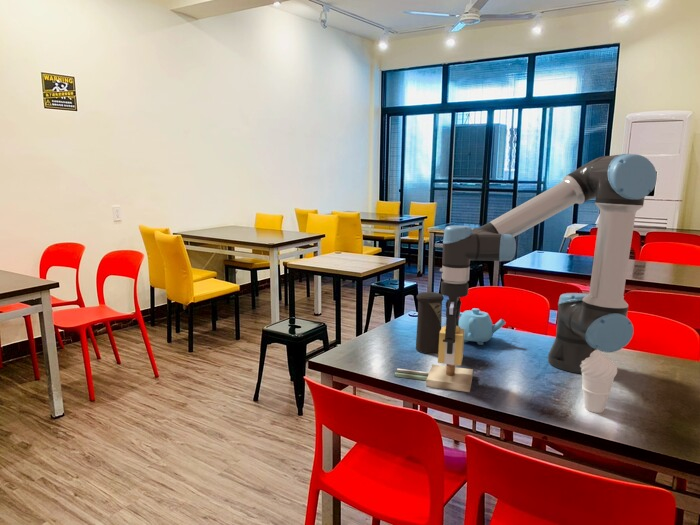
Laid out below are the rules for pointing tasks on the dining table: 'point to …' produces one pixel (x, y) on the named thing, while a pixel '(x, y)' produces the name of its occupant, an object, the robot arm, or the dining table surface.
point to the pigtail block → (441, 377)
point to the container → (429, 322)
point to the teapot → (478, 326)
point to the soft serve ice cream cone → (597, 380)
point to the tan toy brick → (458, 345)
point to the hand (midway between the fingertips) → (450, 359)
